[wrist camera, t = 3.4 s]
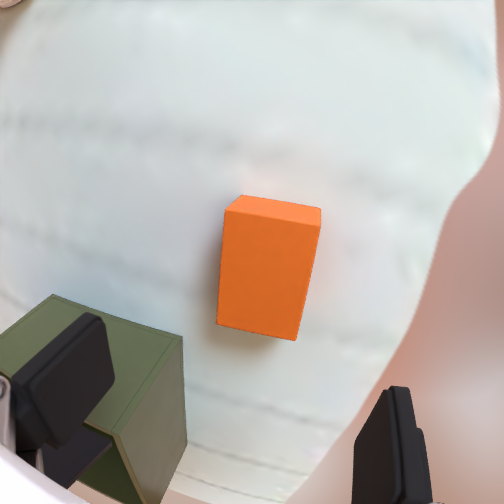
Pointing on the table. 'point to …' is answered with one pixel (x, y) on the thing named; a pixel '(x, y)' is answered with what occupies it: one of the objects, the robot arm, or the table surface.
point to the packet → (266, 265)
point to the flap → (73, 456)
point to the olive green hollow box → (119, 398)
